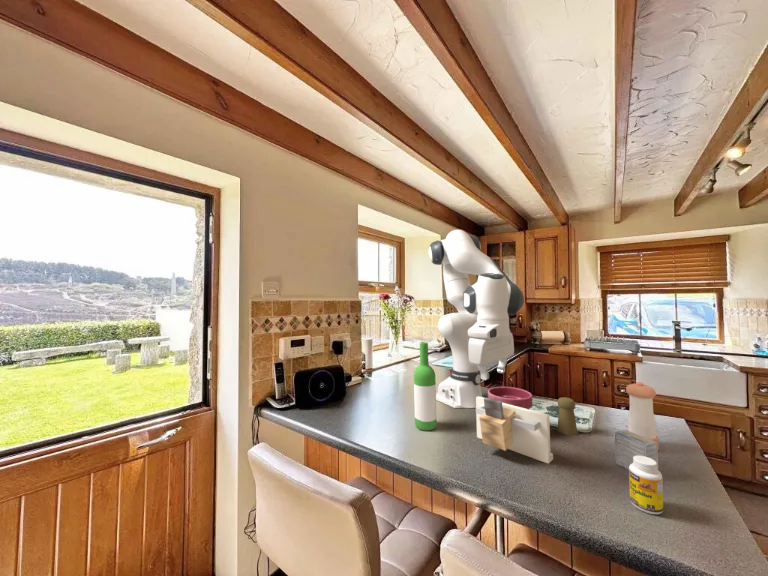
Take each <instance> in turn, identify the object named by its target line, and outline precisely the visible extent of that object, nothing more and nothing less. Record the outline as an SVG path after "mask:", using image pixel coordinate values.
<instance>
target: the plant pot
mask: <svg viewBox="0 0 768 576" xmlns="http://www.w3.org/2000/svg"><path fill="white" fill-rule="evenodd" d="M487 398H490V399H494V400H498V401H502V403H506V404H510V405H514V406H518V407H521V408H525V409H529V410H530V409H531V408H532V407H533V394H532V393H531V392H529V391H528V390H525V389H522V388H518V387H512V386H494V387H491V388H489V389H488V390H487Z"/></svg>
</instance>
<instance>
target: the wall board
mask: <svg viewBox="0 0 768 576" xmlns="http://www.w3.org/2000/svg"><path fill="white" fill-rule="evenodd" d="M484 398H485V397H484V396H482V397H479V396H478V397H476V408H475V415H476V416H475V417H476V438H477V439H480V440H481V439H482V433H481V425H480V418H479V417H480V416H481V415H482V414H483V413H484V412H485V405H484ZM502 407H504V408H507V409H511V410H515V412H516V414H515V415H514V418H513V417H512V418H511V426H512V434H513V443H512V444H511V445H510V446H509V447H508V449H507V450H511V451H514V452H516V453H518V454H521V455H523V456H527V457H528V458H529V457H530V458H532V459H534V460H537V461H540V462H543V463H545V464H548V465H549V464H550V463H552V461H553V460H554V454H553V453H552V452H551V432H550V431H551V430H550V427H551V426H550V414H548V413H544V412H540V411H536V410H532V409H530V408H529V409H525V408H521V407H518V406H514V405H510V404H506V403H502Z"/></svg>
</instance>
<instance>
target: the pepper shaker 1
mask: <svg viewBox="0 0 768 576" xmlns="http://www.w3.org/2000/svg"><path fill="white" fill-rule="evenodd" d="M557 405H558V407H559V410H558V416H557V417H558V418H557V426H556V427H557V428H556V429H557V432H559V433H561V434H564V435H567V436H577V435H578V433H579V432H578V428H577V420H576V415H575V408H576V401H575V400H574V399H572V398H570V397H565V396H564V397H562V396H561V397H559V398H558V399H557Z"/></svg>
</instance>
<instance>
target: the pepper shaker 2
mask: <svg viewBox="0 0 768 576" xmlns="http://www.w3.org/2000/svg"><path fill="white" fill-rule="evenodd" d="M625 391H626V393H627V395H629V398H628V399H629V411H628V416H627V417H628V418H627V426H628V427H627V428H628V429H626V430H627V431H630V432H632V433H635V434H637V435H640V436H642V437H645V438H647V439H650V440H652V441H655V442H656V443H657V452H658V451H659V450H660V449H659V448H660V447H659V437H658V435H657V423H656V420H655V419H656V418H655V415H654V403H653V402H654V401H653V399H654V398H655V397H656V396H657V393H656V391H655V389H654V388H653V387H652V386H649V385H646V384H644V383H643V382H641V381H638V382H637V383H631V384H628V385H627V386H626V387H625Z"/></svg>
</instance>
